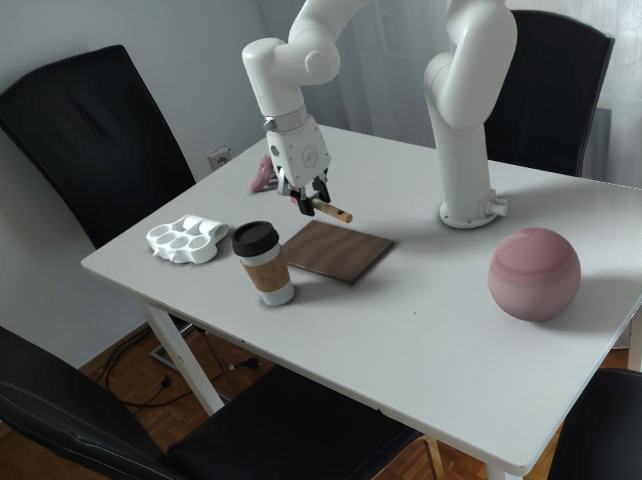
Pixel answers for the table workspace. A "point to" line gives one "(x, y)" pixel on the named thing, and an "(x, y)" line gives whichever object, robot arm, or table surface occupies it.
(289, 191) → the robot arm
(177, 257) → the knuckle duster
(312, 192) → the white and tan bar
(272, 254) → the coffee cup
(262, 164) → the video game controller
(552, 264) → the pink ball
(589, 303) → the table surface
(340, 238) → the board
